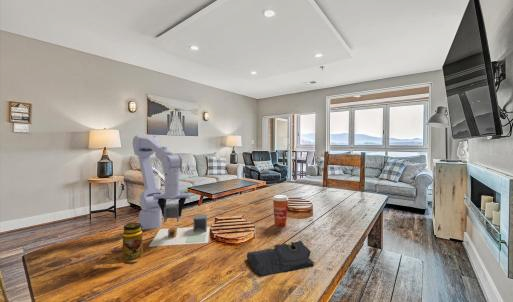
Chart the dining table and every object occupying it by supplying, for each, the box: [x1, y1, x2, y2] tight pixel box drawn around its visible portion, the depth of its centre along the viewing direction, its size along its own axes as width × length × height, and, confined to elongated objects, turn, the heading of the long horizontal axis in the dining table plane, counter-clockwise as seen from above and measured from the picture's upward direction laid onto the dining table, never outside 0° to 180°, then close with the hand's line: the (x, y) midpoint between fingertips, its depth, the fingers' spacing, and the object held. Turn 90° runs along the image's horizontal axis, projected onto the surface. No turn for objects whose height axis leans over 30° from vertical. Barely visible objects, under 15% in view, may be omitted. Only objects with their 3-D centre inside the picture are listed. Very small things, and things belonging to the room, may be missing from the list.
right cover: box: [193, 213, 208, 232], centre depth 105 cm, size 6×6×6 cm
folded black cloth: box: [246, 240, 316, 278], centre depth 81 cm, size 15×22×5 cm
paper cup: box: [272, 194, 289, 228], centre depth 115 cm, size 8×8×14 cm
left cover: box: [163, 203, 181, 223], centre depth 98 cm, size 6×6×6 cm
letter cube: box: [168, 227, 178, 238], centre depth 98 cm, size 3×3×3 cm
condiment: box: [122, 221, 144, 265], centre depth 82 cm, size 7×8×12 cm
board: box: [148, 225, 211, 248], centre depth 99 cm, size 22×18×1 cm
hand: (172, 216), depth 98 cm, fingers closed on left cover, 5 cm apart
